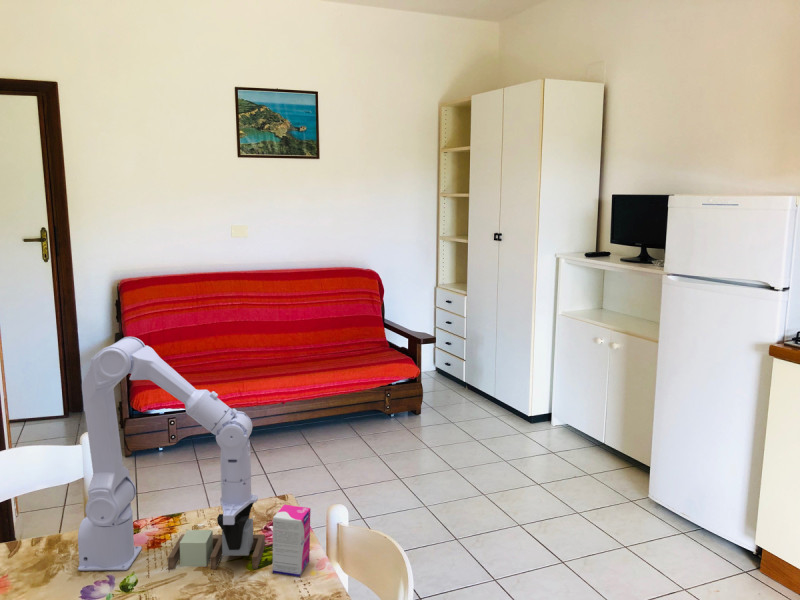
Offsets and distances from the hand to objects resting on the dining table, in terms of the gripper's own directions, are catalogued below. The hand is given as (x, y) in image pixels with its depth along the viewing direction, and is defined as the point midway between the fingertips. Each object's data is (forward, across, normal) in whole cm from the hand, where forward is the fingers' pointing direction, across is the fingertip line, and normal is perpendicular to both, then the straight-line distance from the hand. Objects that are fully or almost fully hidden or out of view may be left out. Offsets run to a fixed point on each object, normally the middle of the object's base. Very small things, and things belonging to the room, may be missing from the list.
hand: (237, 541), depth 127 cm
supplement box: (+4, -3, -11) cm, 12 cm away
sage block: (+4, 0, +8) cm, 9 cm away
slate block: (+2, 0, 0) cm, 2 cm away
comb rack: (+4, 0, +4) cm, 5 cm away
